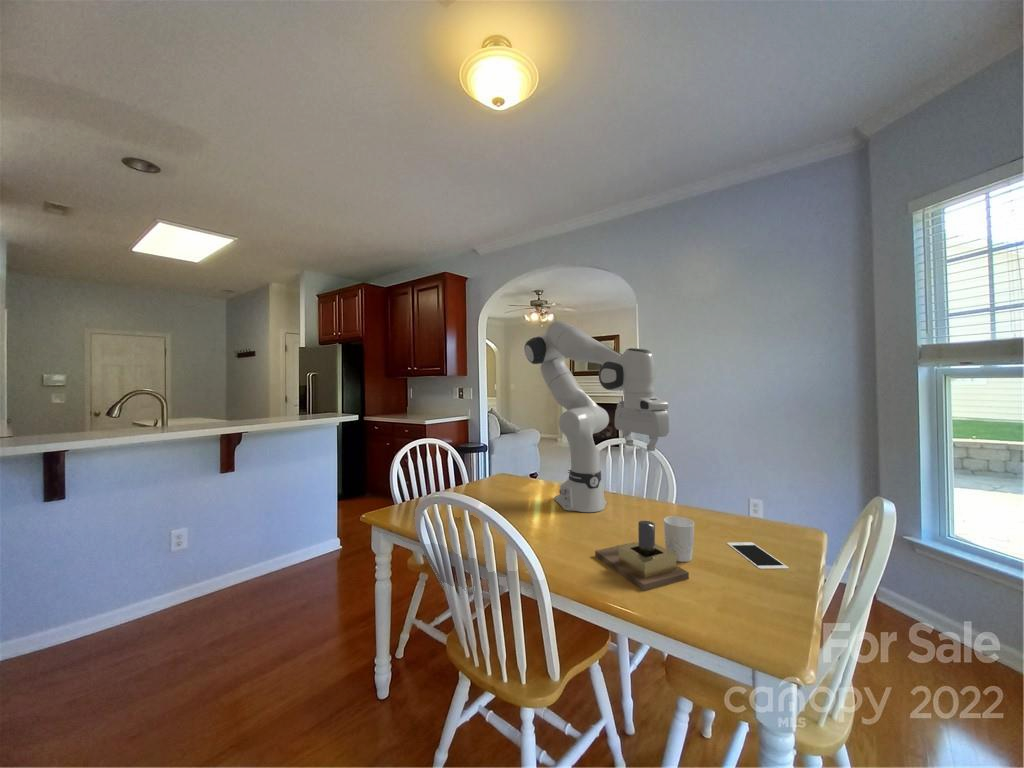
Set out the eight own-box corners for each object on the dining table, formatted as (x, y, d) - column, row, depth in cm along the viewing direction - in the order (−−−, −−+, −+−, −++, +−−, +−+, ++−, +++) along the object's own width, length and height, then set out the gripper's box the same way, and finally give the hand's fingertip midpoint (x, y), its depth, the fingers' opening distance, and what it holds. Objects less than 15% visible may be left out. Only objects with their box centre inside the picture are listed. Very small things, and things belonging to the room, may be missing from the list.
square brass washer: (618, 561, 105) (618, 546, 105) (648, 554, 108) (648, 539, 108) (644, 578, 95) (644, 562, 95) (676, 570, 99) (676, 554, 99)
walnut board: (595, 555, 111) (595, 550, 111) (635, 547, 117) (634, 542, 117) (644, 590, 93) (643, 584, 93) (688, 578, 98) (688, 572, 98)
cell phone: (752, 544, 118) (752, 542, 118) (789, 570, 102) (789, 567, 102) (726, 544, 118) (726, 542, 118) (759, 570, 102) (759, 568, 102)
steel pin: (635, 563, 103) (635, 522, 103) (647, 560, 105) (647, 519, 104) (646, 570, 99) (645, 527, 99) (658, 567, 101) (658, 525, 101)
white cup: (676, 565, 105) (676, 528, 105) (658, 552, 113) (657, 518, 113) (701, 561, 107) (700, 524, 107) (681, 549, 115) (681, 515, 115)
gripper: (609, 400, 126) (609, 443, 127) (655, 404, 108) (655, 454, 108) (625, 400, 129) (625, 442, 129) (672, 403, 110) (673, 452, 110)
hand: (639, 448), depth 118 cm, fingers open, 8 cm apart
